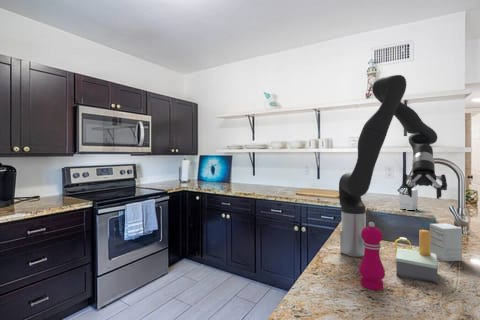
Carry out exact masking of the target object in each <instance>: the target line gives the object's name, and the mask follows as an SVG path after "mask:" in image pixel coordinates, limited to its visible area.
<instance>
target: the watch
mask: <svg viewBox="0 0 480 320" xmlns="http://www.w3.org/2000/svg"><path fill="white" fill-rule="evenodd" d="M399 241H403V242H408V244H409V246H410V247H409V250H413V249H412V248H413V247H412V243H411V242H410V240H408V238H406V237H401V236H400V237H399V238H398V239H396V240H395V241H394V248H395V250H396V251H397V248H398V247H397V245H396V244H397V243H398V242H399Z"/></svg>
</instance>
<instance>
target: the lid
mask: <svg viewBox="0 0 480 320" xmlns="http://www.w3.org/2000/svg"><path fill="white" fill-rule="evenodd" d="M418 232H419V233H418V234H419V235H418V237H419V238H418V239H419V240H418V243H419V245H418V246H419V247H418V248H419V249H418V250H415V249H414V250H413V249H411V250H409V249H410V248H409V249H408V248H401V247H396V248H397V250H396V254H395V262H396V261H399V262H404V263H409V264H414V265H420V266H425V267H430V268H436V269H437V270H438V269H439V263H438V258H437V257H436V254H433V253H431V232H430V230H428V229H427V230H426V229H419V231H418Z"/></svg>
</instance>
